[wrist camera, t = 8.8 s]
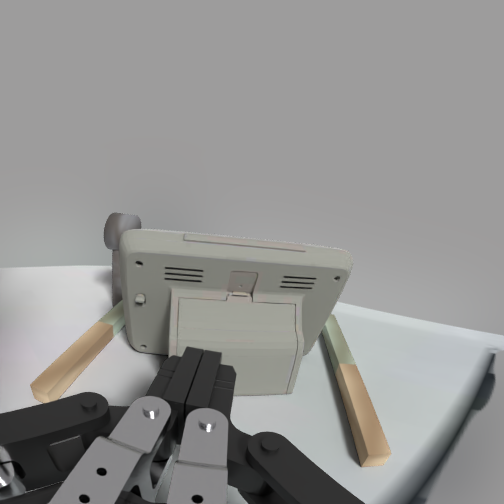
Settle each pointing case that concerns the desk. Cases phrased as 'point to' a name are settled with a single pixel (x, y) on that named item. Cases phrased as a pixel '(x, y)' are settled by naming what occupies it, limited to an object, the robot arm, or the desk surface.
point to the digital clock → (230, 300)
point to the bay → (99, 335)
